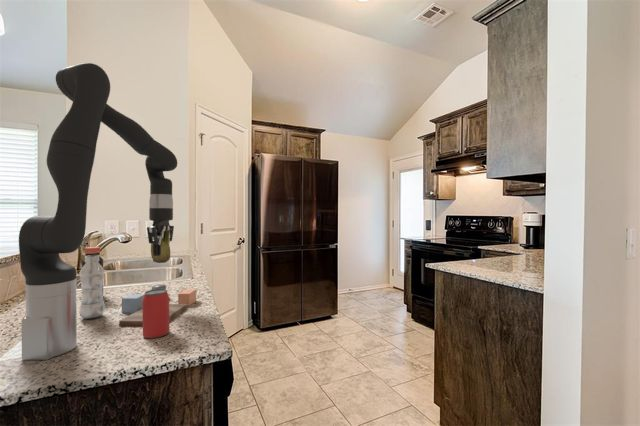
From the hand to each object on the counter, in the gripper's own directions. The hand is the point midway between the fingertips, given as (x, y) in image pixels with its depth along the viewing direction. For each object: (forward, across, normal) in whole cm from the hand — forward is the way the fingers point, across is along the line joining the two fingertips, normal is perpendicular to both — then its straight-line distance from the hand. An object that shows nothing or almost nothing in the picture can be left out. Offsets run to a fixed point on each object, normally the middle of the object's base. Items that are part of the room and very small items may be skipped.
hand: (161, 254), depth 107 cm
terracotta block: (+19, +4, -8) cm, 21 cm away
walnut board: (+19, -10, -4) cm, 22 cm away
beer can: (+19, -24, -12) cm, 33 cm away
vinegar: (+19, +12, +33) cm, 40 cm away
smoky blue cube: (+19, -4, +7) cm, 21 cm away
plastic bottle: (+19, -10, +16) cm, 27 cm away
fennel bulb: (+3, 0, 0) cm, 3 cm away
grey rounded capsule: (+19, +10, +6) cm, 22 cm away
